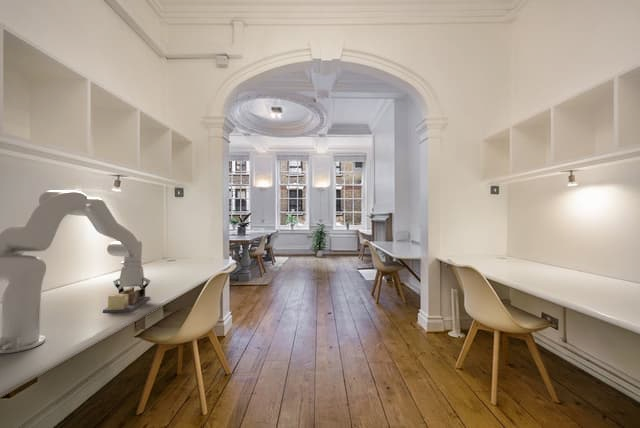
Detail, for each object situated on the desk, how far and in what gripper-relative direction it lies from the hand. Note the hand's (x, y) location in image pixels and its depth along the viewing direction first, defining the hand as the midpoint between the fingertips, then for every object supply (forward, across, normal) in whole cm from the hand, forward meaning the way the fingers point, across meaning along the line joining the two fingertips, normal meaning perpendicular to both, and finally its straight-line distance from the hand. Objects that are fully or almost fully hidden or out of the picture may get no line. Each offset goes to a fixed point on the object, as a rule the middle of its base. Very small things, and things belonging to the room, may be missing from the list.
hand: (131, 296), depth 150 cm
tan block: (+2, 0, -13) cm, 14 cm away
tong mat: (+3, 0, -4) cm, 5 cm away
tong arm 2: (+2, +3, 0) cm, 3 cm away
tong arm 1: (+2, -3, 0) cm, 3 cm away
